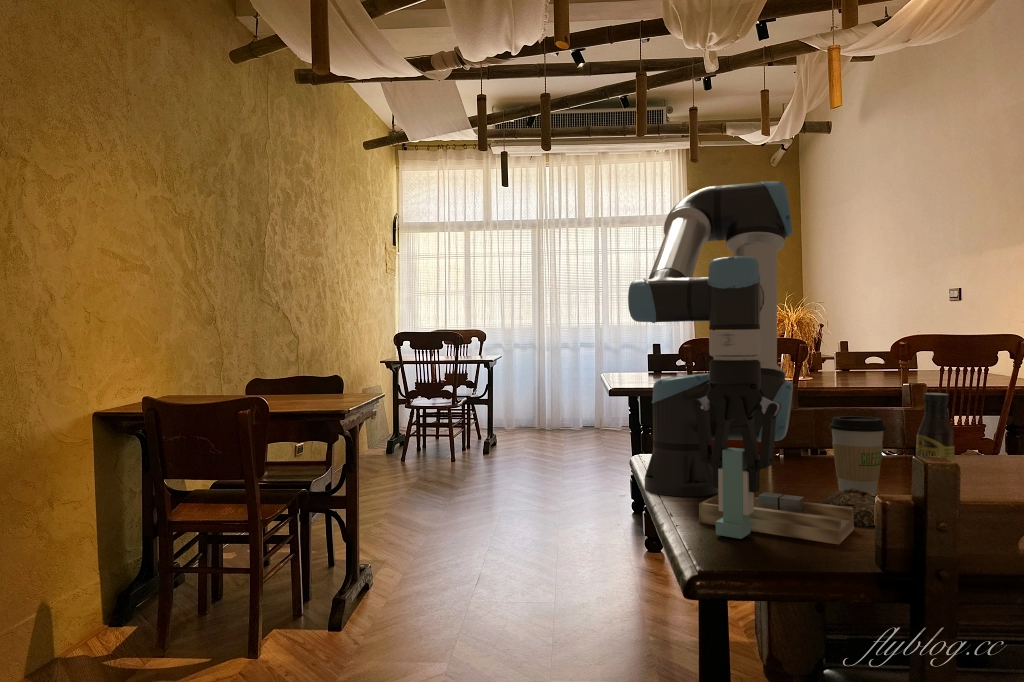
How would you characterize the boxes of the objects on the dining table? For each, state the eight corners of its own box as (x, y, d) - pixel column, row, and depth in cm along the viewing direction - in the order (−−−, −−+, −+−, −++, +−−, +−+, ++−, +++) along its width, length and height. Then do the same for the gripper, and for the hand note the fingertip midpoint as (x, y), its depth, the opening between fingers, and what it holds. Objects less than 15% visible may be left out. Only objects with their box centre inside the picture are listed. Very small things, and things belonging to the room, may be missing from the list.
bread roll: (912, 520, 118) (912, 491, 118) (870, 531, 111) (870, 500, 111) (841, 506, 128) (841, 479, 128) (799, 515, 122) (799, 486, 122)
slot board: (853, 529, 111) (853, 507, 111) (838, 544, 103) (838, 520, 103) (721, 510, 124) (721, 491, 124) (699, 522, 116) (698, 501, 116)
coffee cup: (894, 503, 129) (893, 421, 129) (836, 501, 131) (836, 421, 131) (877, 492, 138) (877, 416, 138) (824, 490, 140) (823, 415, 140)
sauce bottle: (908, 494, 136) (907, 392, 136) (938, 493, 136) (937, 391, 136) (931, 502, 129) (930, 394, 129) (963, 501, 130) (962, 394, 130)
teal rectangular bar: (750, 532, 108) (749, 448, 108) (741, 538, 105) (740, 452, 105) (725, 528, 111) (724, 446, 111) (715, 534, 108) (714, 450, 107)
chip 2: (779, 516, 112) (779, 497, 112) (785, 513, 114) (785, 494, 114) (799, 519, 110) (799, 500, 110) (804, 515, 112) (804, 496, 112)
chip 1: (758, 513, 114) (758, 495, 114) (764, 510, 116) (764, 492, 116) (777, 516, 112) (777, 497, 112) (783, 512, 114) (783, 494, 114)
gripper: (675, 358, 109) (676, 508, 109) (781, 359, 100) (782, 524, 100) (694, 357, 115) (695, 499, 115) (796, 358, 105) (797, 513, 106)
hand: (736, 510), depth 108 cm, fingers closed on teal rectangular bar, 3 cm apart
